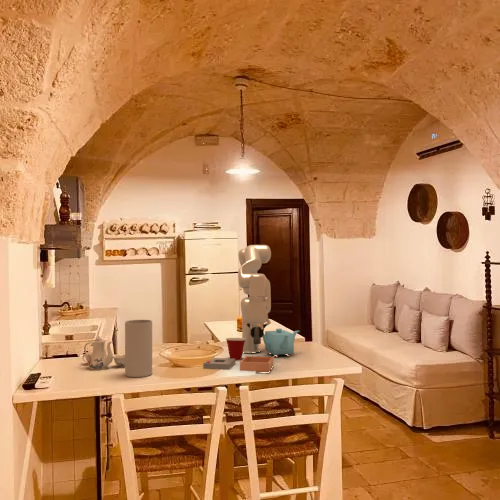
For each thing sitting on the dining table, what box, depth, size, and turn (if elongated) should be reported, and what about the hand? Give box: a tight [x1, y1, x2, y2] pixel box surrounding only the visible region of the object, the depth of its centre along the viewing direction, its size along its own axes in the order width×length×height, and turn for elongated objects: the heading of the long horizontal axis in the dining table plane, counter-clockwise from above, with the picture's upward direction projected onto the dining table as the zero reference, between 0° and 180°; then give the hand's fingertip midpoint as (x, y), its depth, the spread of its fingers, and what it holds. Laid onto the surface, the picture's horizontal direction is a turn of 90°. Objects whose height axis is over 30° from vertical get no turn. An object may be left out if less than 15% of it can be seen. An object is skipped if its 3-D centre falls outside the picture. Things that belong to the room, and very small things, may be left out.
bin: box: [239, 355, 275, 372], centre depth 237 cm, size 14×14×5 cm
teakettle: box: [262, 328, 300, 356], centre depth 272 cm, size 19×19×15 cm
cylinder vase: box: [124, 319, 153, 378], centre depth 228 cm, size 12×12×25 cm
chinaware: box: [82, 335, 125, 371], centre depth 245 cm, size 28×17×17 cm, turn 75°
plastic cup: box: [225, 337, 246, 361], centre depth 258 cm, size 11×11×12 cm
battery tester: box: [202, 357, 236, 371], centre depth 241 cm, size 13×13×4 cm
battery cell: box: [253, 326, 262, 345], centre depth 237 cm, size 4×4×9 cm
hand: (257, 336), depth 237 cm, fingers closed on battery cell, 3 cm apart
